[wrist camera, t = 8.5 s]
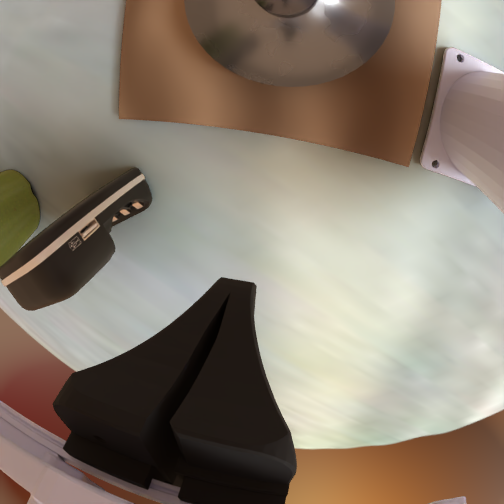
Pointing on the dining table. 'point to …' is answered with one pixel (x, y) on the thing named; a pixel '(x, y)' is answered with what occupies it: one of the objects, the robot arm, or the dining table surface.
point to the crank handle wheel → (290, 36)
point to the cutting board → (279, 97)
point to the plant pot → (16, 213)
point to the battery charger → (74, 244)
